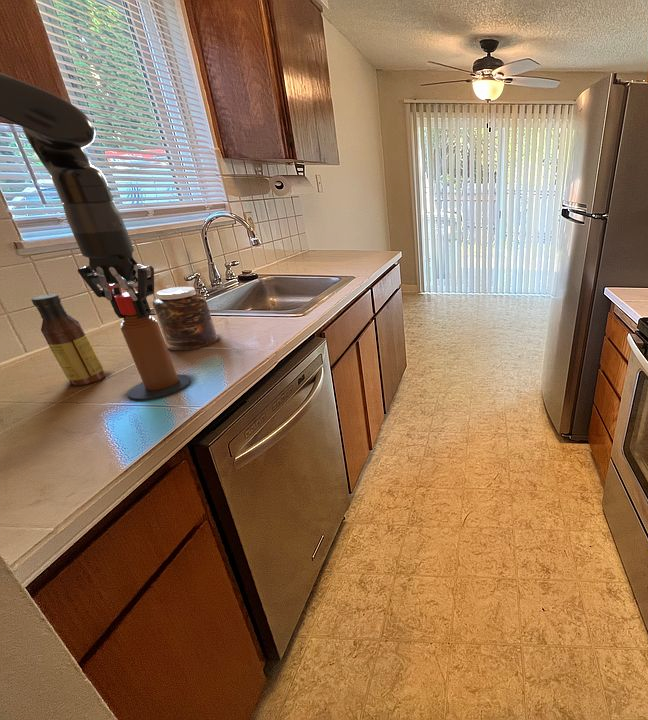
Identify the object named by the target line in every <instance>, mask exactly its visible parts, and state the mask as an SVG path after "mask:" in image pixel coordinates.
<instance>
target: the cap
mask: <svg viewBox="0 0 648 720" xmlns="http://www.w3.org/2000/svg"><path fill="white" fill-rule="evenodd" d="M135 292H136V293H138V292H137V291H135ZM114 298H115V301H116V304H117V306H118V308H119V311H120V313H121V314H122V315H132V314H137V312H136V310H135V307H134V305H133V302H132V301H134V300H132V299H131V297H130V295H129V294H128V292H127V291H126V292H122V293H121V294H117V295H115V296H114Z"/></svg>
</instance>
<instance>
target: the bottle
mask: <svg viewBox="0 0 648 720" xmlns="http://www.w3.org/2000/svg"><path fill="white" fill-rule="evenodd" d="M119 324H120V326H119V328H120V331H121V333H122V336H123V338H124V340H125V343H126V345H127V348H128V350H129V352H130V354H131V357H132V360H133V361H134V365H135V366H136V369H137V371H138V374H139V376H140V379H141V381H142V383H144V386H145V388H146V389H147V390H159V389H164V388H167V387H170V386H172V385H174V384H176V383H177V382H178V381H179V378H178V376H177V375H178V372H177V370H176V368H175V365H174V363H173V360H172V357H171V355H170V352H169V348H168V347H167V344H166V342H165V339H164V337H163V334H162V331H161V328H160V326H159V323H158V320H157V319H156V318H155V317H153V316H152V315H150V316H148V317H146V318H139V317H138V315H137V314H132V315H125V318H123V320H121V323H119Z"/></svg>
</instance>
